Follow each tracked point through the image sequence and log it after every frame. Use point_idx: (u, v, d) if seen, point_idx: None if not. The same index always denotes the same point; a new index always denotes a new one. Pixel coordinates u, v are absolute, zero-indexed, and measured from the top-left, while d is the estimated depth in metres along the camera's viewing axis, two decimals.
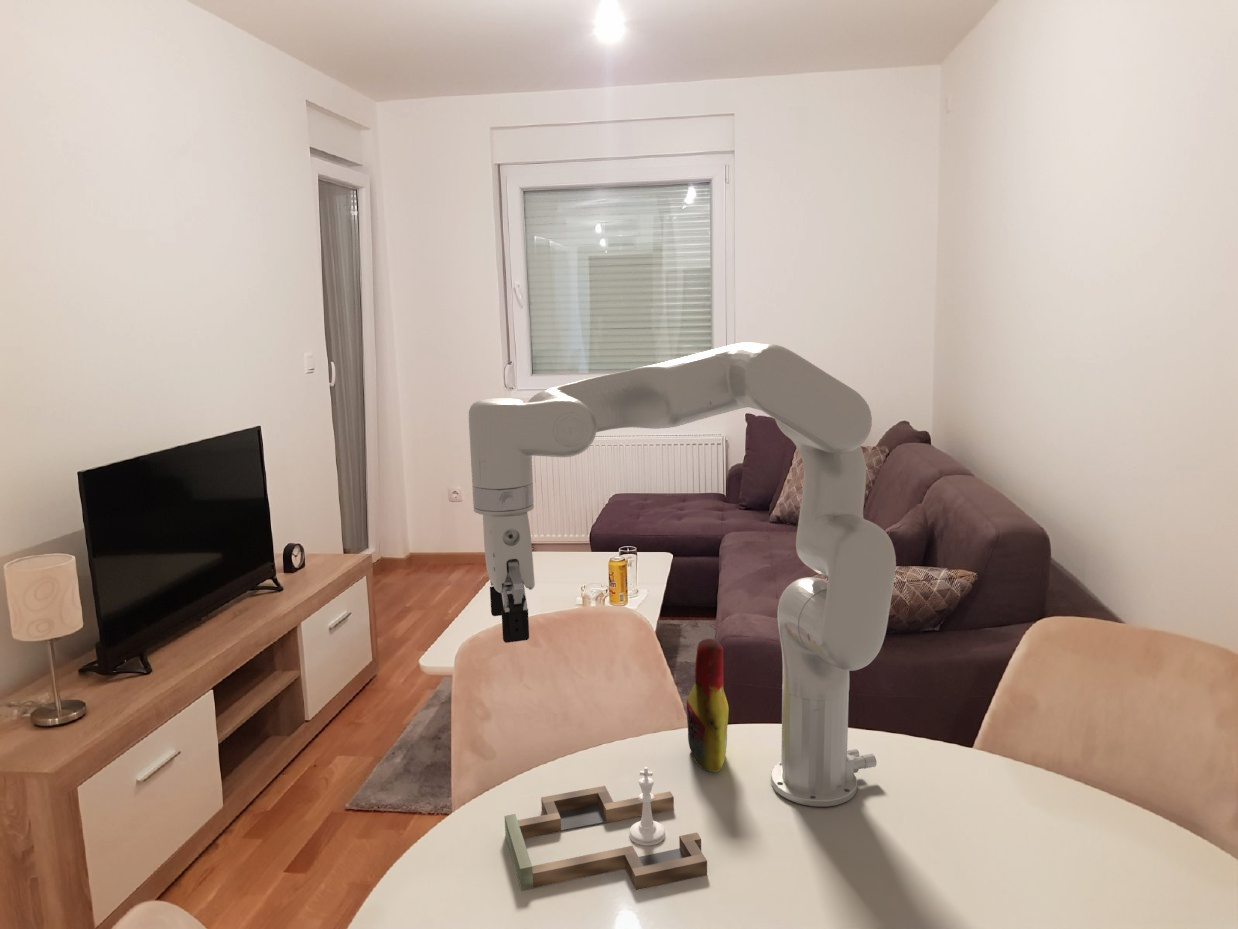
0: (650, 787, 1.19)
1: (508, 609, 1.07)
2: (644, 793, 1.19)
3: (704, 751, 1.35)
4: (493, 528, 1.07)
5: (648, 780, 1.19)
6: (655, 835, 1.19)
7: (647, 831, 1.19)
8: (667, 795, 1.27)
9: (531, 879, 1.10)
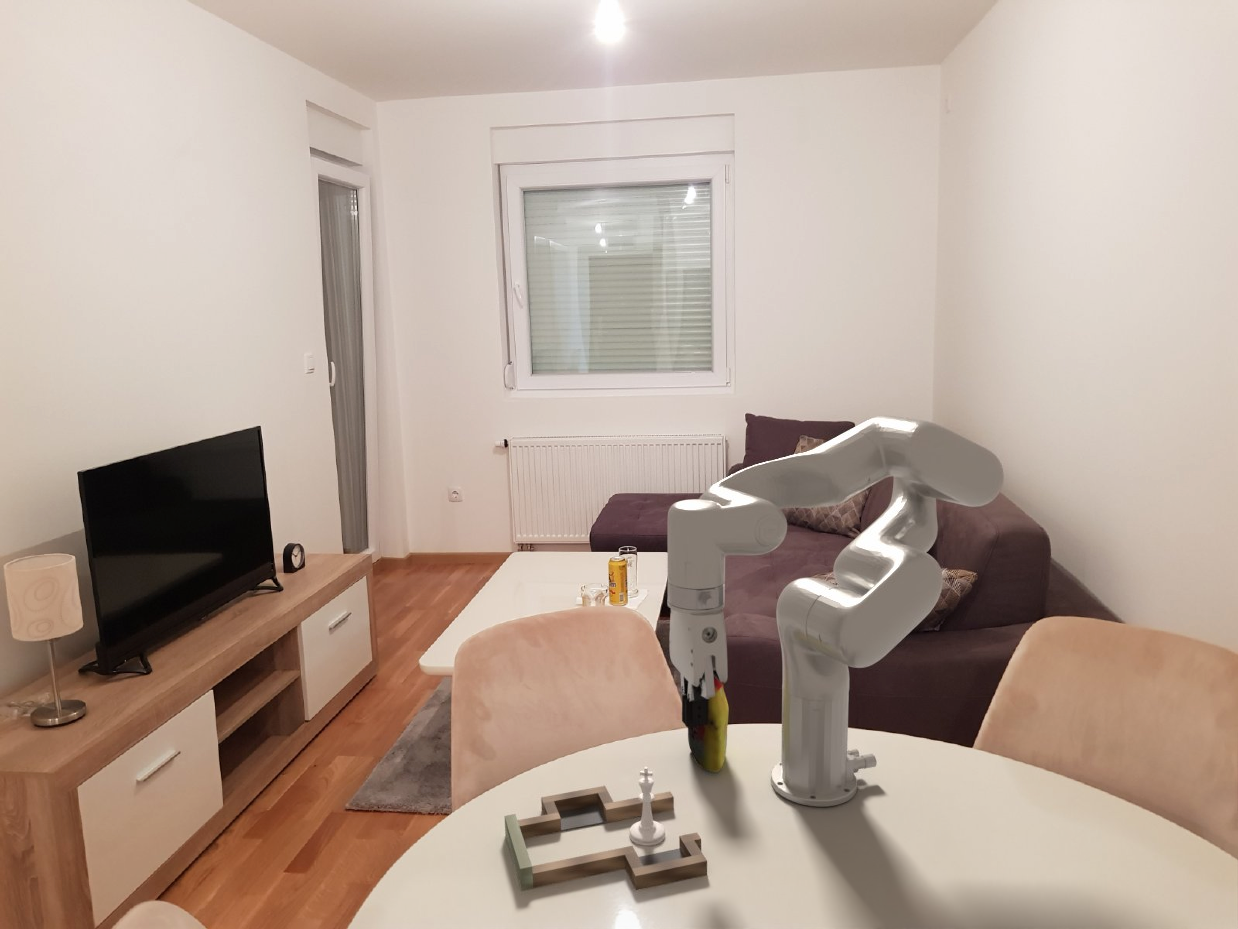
0: (650, 787, 1.19)
1: (693, 698, 1.17)
2: (644, 793, 1.19)
3: (704, 751, 1.35)
4: (692, 626, 1.13)
5: (648, 780, 1.19)
6: (655, 835, 1.19)
7: (647, 831, 1.19)
8: (667, 795, 1.27)
9: (531, 879, 1.10)
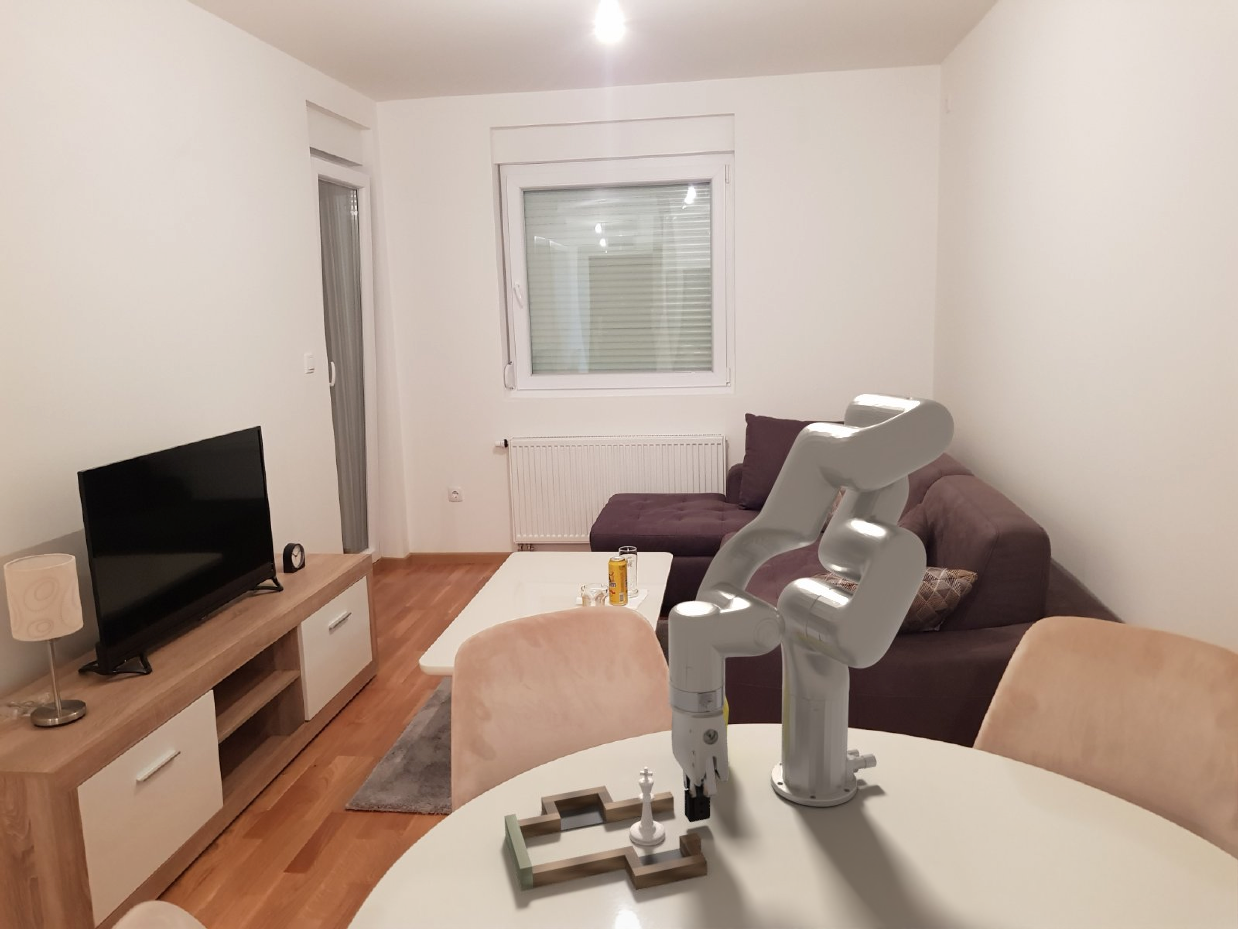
0: (650, 787, 1.19)
1: (695, 794, 1.20)
2: (644, 793, 1.19)
3: None
4: (694, 728, 1.15)
5: (648, 780, 1.19)
6: (655, 835, 1.19)
7: (647, 831, 1.19)
8: (667, 795, 1.27)
9: (531, 879, 1.10)
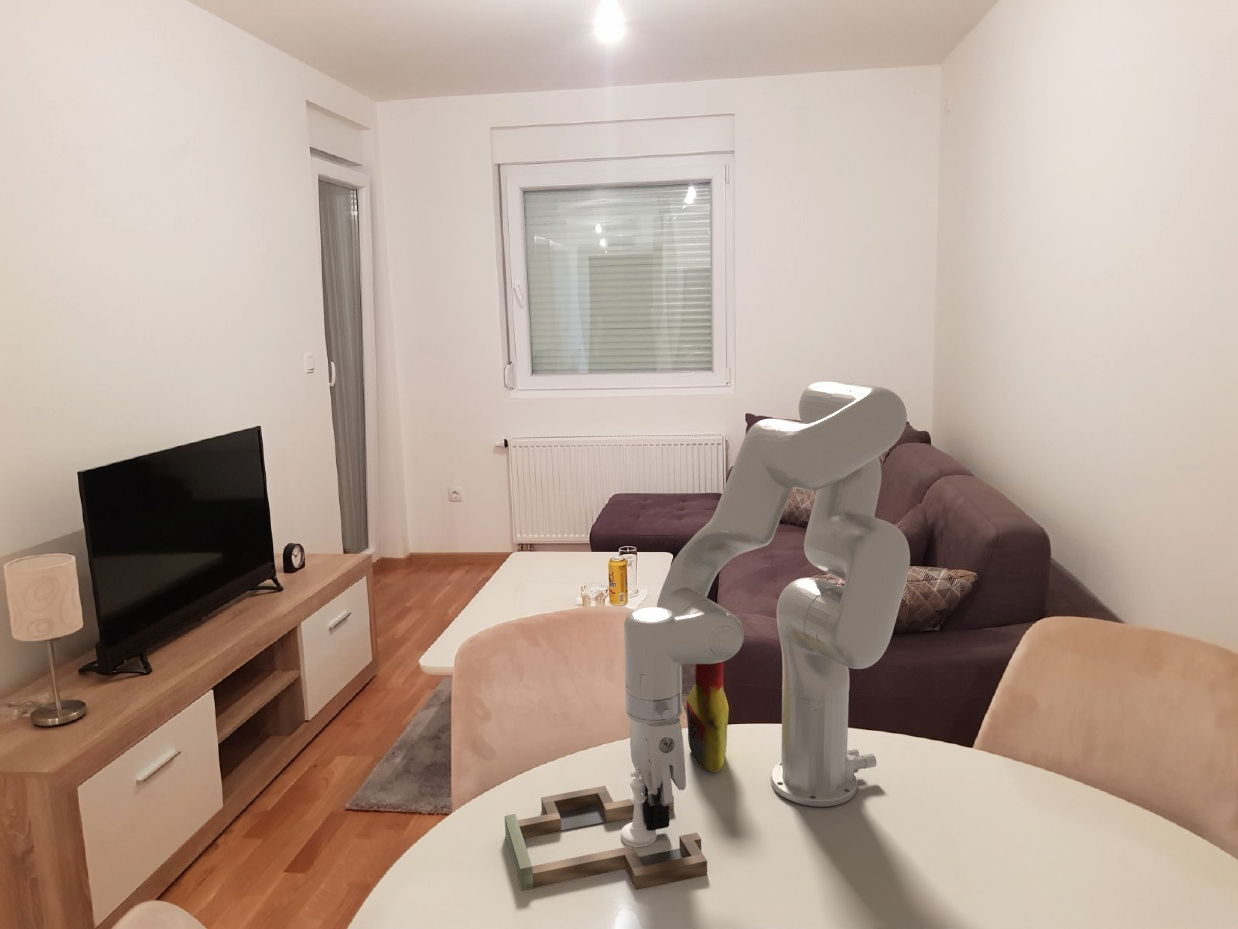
0: (641, 788, 1.18)
1: (653, 803, 1.18)
2: (636, 795, 1.19)
3: (704, 751, 1.35)
4: (649, 736, 1.14)
5: (639, 781, 1.19)
6: (647, 836, 1.19)
7: (639, 833, 1.19)
8: None
9: (531, 879, 1.10)
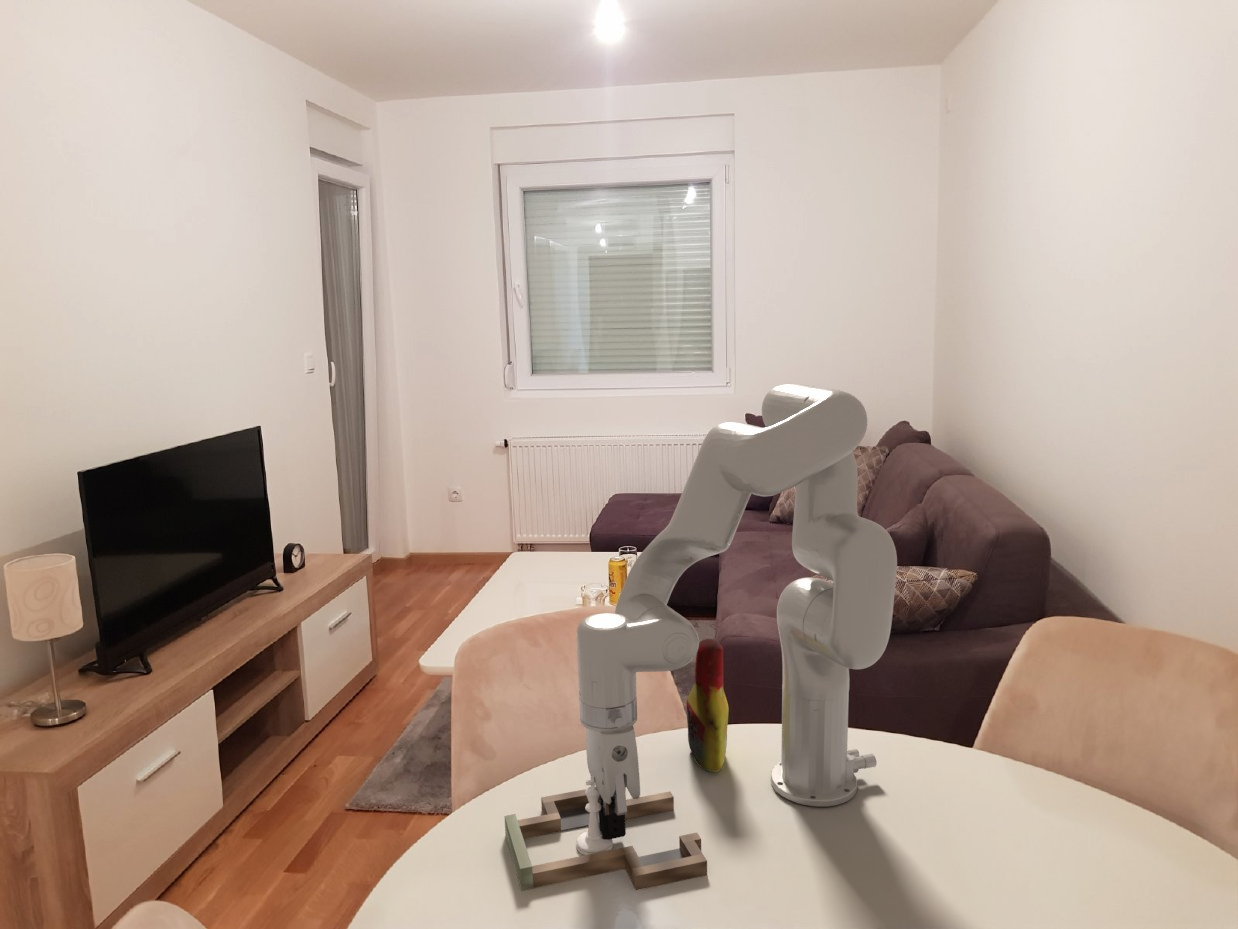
0: (597, 796, 1.17)
1: (608, 812, 1.17)
2: (591, 803, 1.17)
3: (704, 751, 1.35)
4: (602, 745, 1.12)
5: (595, 789, 1.17)
6: (603, 845, 1.17)
7: (594, 842, 1.17)
8: (667, 795, 1.27)
9: (531, 879, 1.10)
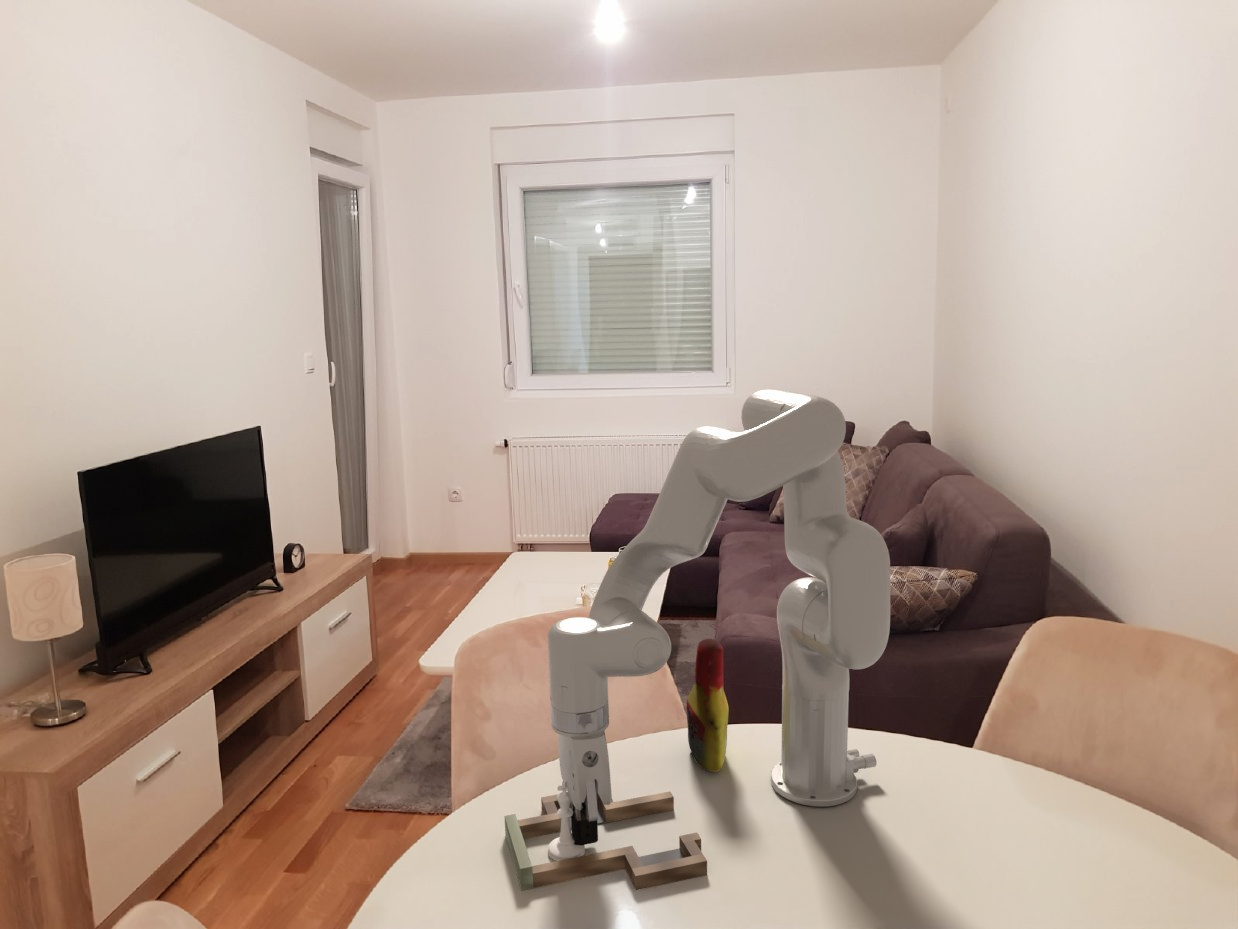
0: (568, 802, 1.16)
1: (580, 818, 1.16)
2: (563, 809, 1.16)
3: (704, 751, 1.35)
4: (573, 750, 1.11)
5: (566, 795, 1.16)
6: (575, 850, 1.16)
7: (566, 847, 1.16)
8: (667, 795, 1.27)
9: (531, 879, 1.10)
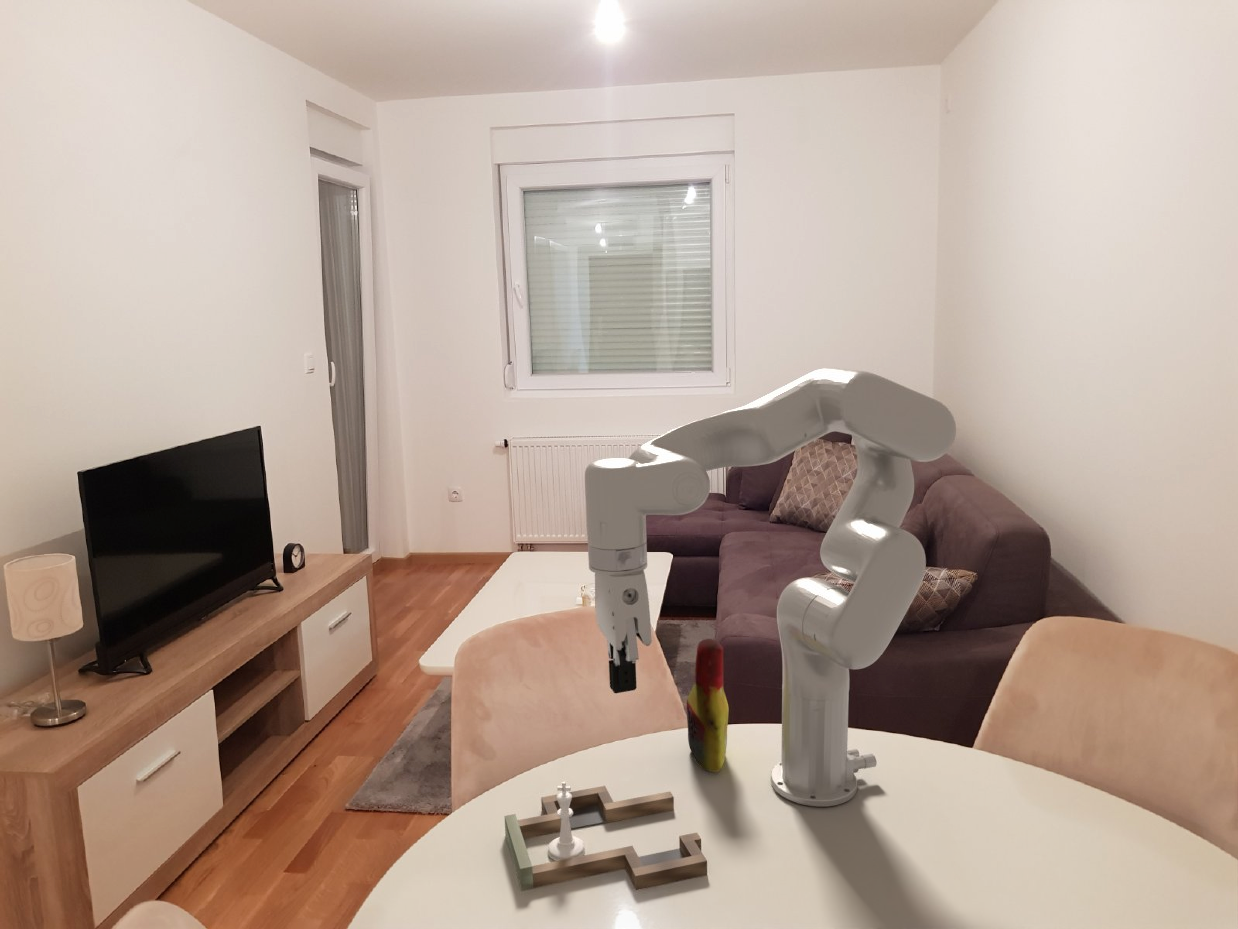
0: (568, 802, 1.16)
1: (618, 662, 1.14)
2: (563, 809, 1.16)
3: (704, 751, 1.35)
4: (612, 588, 1.09)
5: (566, 795, 1.16)
6: (575, 851, 1.16)
7: (566, 848, 1.16)
8: (667, 795, 1.27)
9: (531, 879, 1.10)
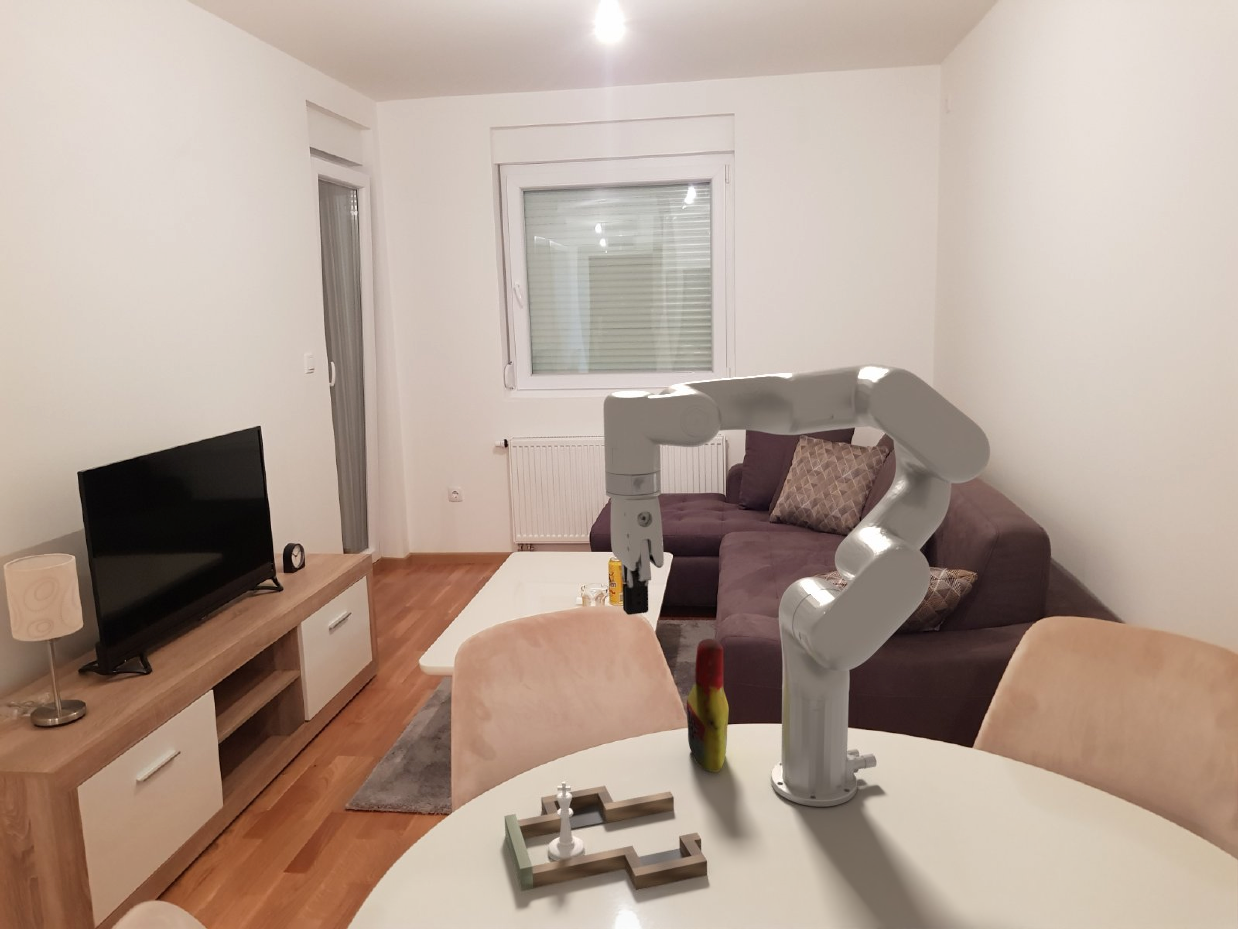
0: (568, 802, 1.16)
1: (632, 584, 1.21)
2: (563, 809, 1.16)
3: (704, 751, 1.35)
4: (628, 511, 1.16)
5: (566, 795, 1.16)
6: (575, 851, 1.16)
7: (566, 848, 1.16)
8: (667, 795, 1.27)
9: (531, 879, 1.10)
